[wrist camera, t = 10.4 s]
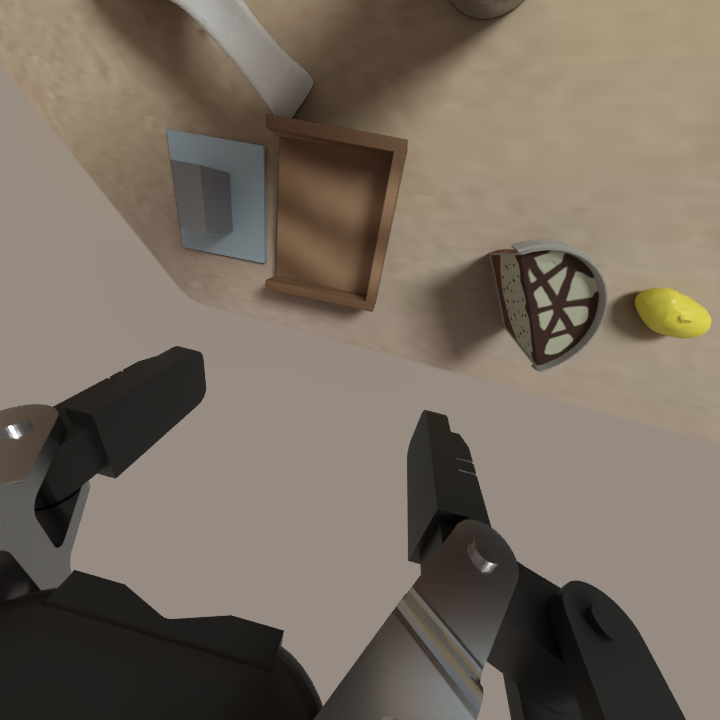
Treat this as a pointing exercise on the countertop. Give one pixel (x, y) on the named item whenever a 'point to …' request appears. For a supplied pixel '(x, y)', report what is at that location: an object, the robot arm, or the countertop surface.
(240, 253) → the cover plate
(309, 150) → the open-fronted box
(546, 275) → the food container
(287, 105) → the spoon rest
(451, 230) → the countertop surface
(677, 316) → the lemon
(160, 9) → the countertop surface
